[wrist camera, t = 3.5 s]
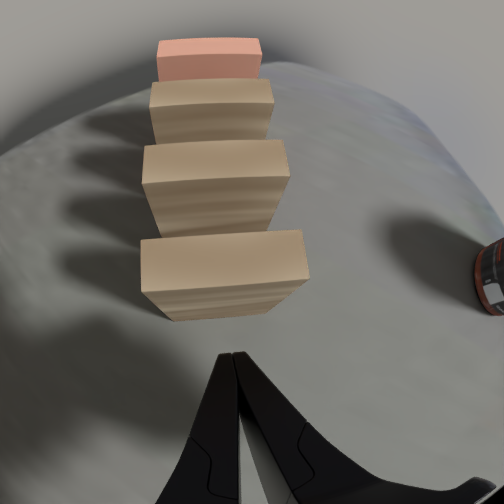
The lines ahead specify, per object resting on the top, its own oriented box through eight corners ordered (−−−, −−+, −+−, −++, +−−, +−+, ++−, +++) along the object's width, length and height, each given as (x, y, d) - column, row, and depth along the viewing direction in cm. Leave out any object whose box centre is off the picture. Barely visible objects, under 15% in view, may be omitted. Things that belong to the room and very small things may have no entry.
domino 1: (265, 313, 17) (310, 278, 9) (173, 321, 16) (141, 291, 9) (261, 285, 17) (301, 229, 10) (171, 292, 17) (140, 239, 9)
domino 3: (250, 195, 19) (274, 103, 11) (168, 200, 18) (149, 107, 11) (247, 174, 20) (268, 79, 12) (169, 178, 19) (152, 82, 11)
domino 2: (257, 251, 18) (290, 176, 10) (169, 257, 17) (142, 183, 10) (254, 225, 18) (282, 139, 11) (169, 231, 18) (144, 145, 10)
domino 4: (244, 149, 20) (262, 54, 13) (169, 153, 19) (156, 57, 12) (242, 131, 21) (258, 38, 13) (170, 135, 20) (159, 40, 12)
